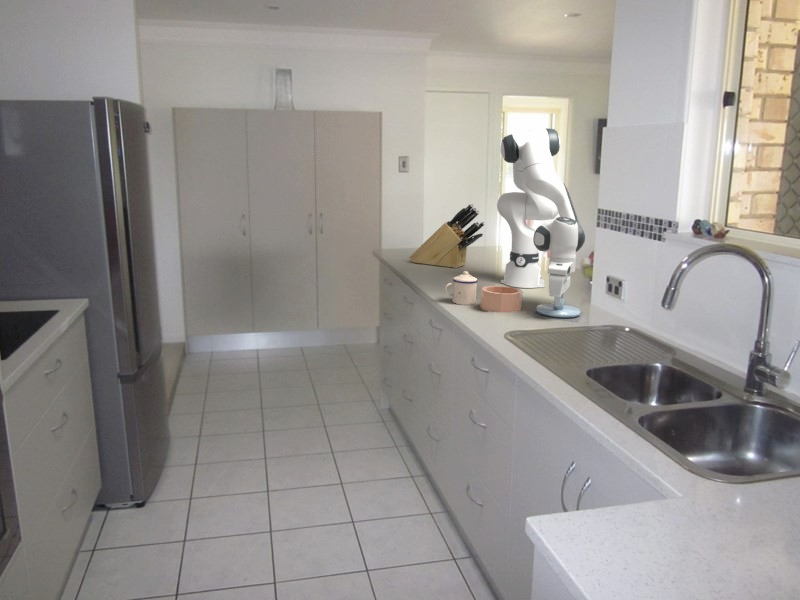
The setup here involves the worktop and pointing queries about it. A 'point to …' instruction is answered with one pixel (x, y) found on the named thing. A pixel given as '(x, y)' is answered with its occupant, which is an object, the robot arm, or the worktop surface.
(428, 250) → the knife block
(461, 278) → the teacup with lid
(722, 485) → the worktop surface
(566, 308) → the lid
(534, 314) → the mat
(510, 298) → the bowl
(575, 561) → the worktop surface
